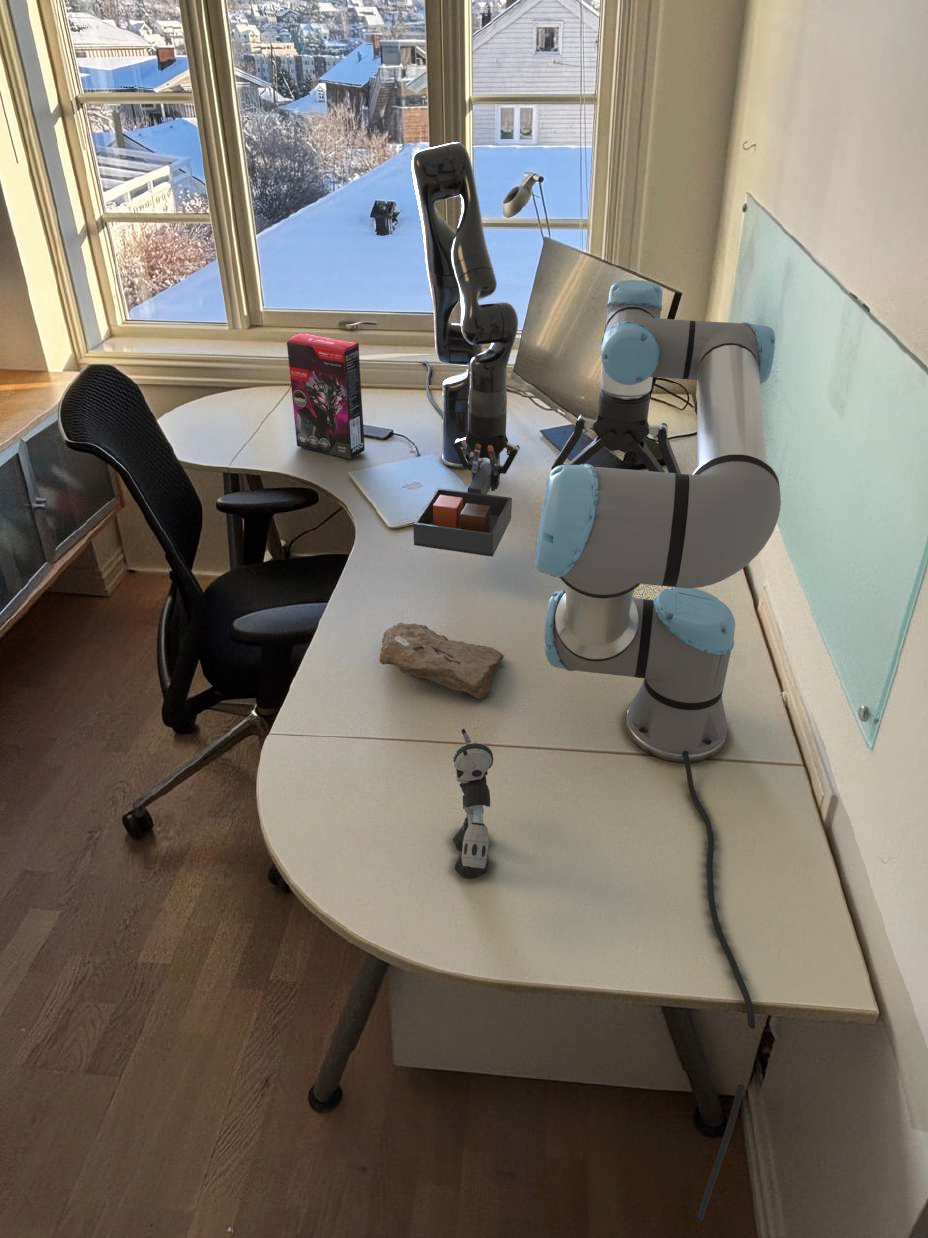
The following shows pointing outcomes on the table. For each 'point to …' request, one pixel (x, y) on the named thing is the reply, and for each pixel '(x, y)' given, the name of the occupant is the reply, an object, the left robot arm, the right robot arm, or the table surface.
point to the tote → (463, 538)
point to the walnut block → (475, 518)
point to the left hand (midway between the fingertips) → (485, 488)
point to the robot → (473, 807)
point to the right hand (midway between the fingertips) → (611, 518)
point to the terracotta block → (447, 511)
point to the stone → (440, 658)
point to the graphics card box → (326, 394)
